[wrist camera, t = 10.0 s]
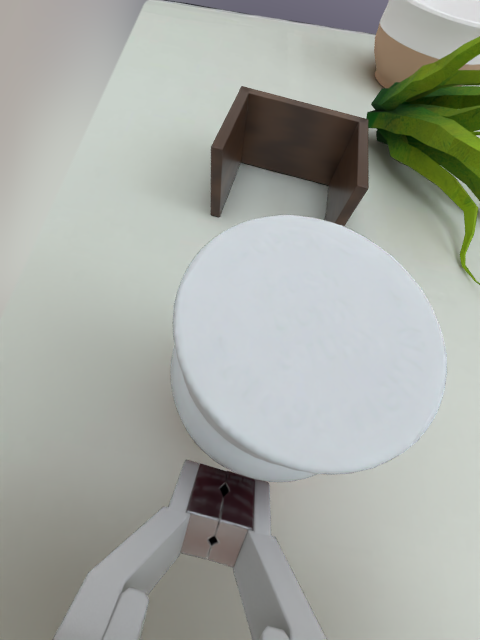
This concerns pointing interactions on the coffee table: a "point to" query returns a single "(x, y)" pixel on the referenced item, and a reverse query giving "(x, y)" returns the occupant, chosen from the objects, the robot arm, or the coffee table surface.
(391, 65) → the bowl
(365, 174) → the u-shaped stand
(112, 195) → the coffee table surface
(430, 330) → the pill bottle
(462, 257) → the decorative plant
